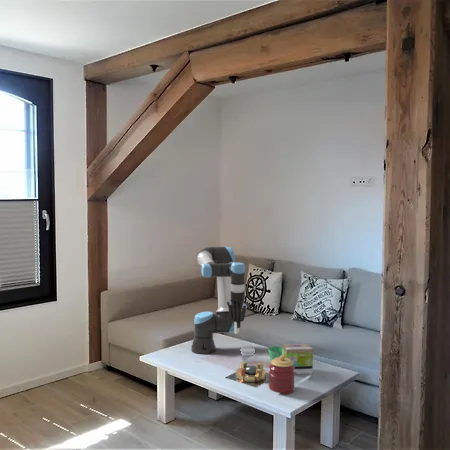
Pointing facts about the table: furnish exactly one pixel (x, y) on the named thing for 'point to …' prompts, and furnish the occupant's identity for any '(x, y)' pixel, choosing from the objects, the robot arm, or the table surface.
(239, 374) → the ring nut
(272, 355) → the mug
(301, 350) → the tea box
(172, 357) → the table surface
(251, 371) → the cap plate
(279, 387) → the canister
